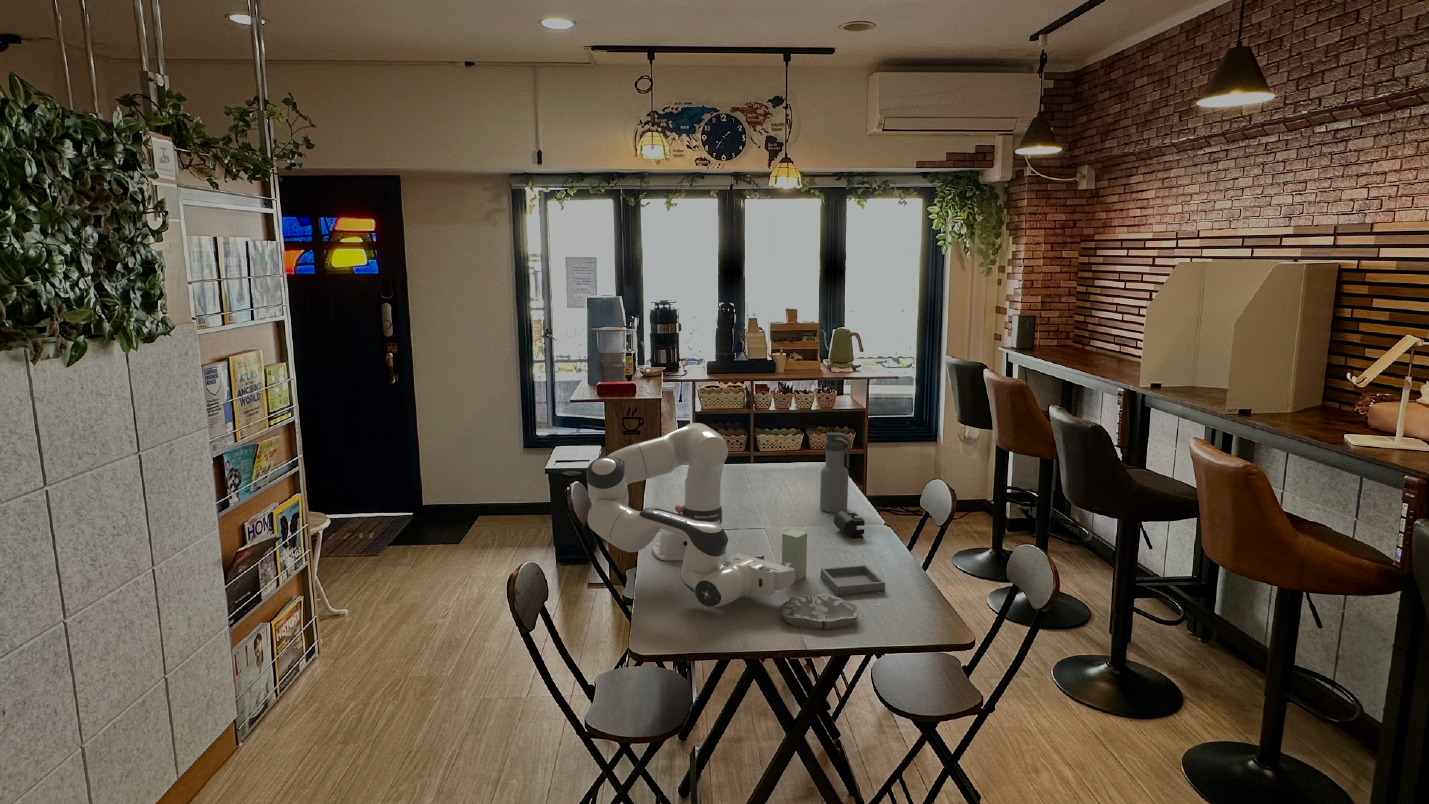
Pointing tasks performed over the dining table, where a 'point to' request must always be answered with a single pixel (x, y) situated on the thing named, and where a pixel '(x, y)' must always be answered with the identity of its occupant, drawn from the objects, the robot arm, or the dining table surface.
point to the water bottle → (835, 474)
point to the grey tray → (852, 580)
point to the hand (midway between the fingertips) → (775, 561)
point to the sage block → (795, 551)
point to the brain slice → (819, 611)
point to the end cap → (849, 524)
